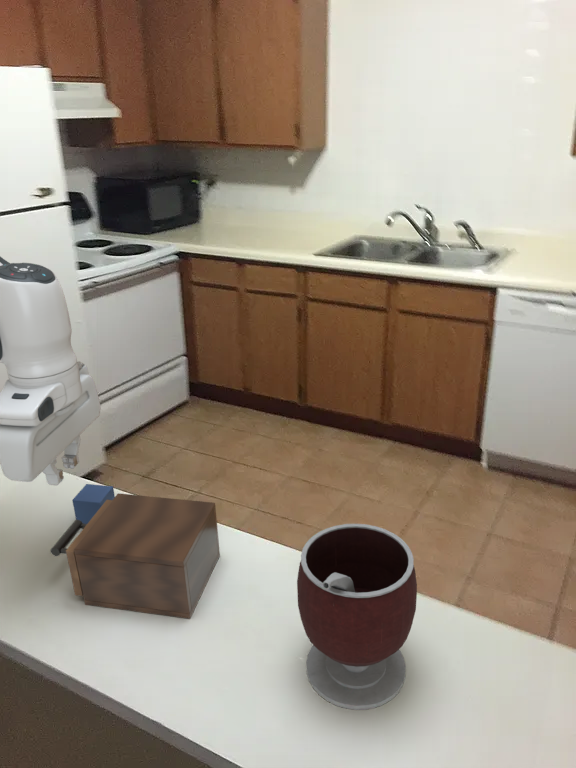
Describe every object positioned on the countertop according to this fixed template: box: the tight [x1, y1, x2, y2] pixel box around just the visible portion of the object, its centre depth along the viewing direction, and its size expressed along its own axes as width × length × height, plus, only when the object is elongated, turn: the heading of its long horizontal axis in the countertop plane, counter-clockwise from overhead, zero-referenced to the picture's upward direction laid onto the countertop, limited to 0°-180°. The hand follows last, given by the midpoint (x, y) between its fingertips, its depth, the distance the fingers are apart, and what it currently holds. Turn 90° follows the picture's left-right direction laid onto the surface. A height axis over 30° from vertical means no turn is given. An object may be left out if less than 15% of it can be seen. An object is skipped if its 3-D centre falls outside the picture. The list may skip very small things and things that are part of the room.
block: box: [72, 483, 116, 524], centre depth 113 cm, size 5×5×5 cm
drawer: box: [50, 500, 112, 597], centre depth 98 cm, size 19×13×8 cm, turn 78°
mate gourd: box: [296, 523, 418, 711], centre depth 78 cm, size 16×14×20 cm
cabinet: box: [74, 493, 221, 620], centre depth 98 cm, size 16×14×10 cm
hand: (64, 474), depth 95 cm, fingers open, 3 cm apart
